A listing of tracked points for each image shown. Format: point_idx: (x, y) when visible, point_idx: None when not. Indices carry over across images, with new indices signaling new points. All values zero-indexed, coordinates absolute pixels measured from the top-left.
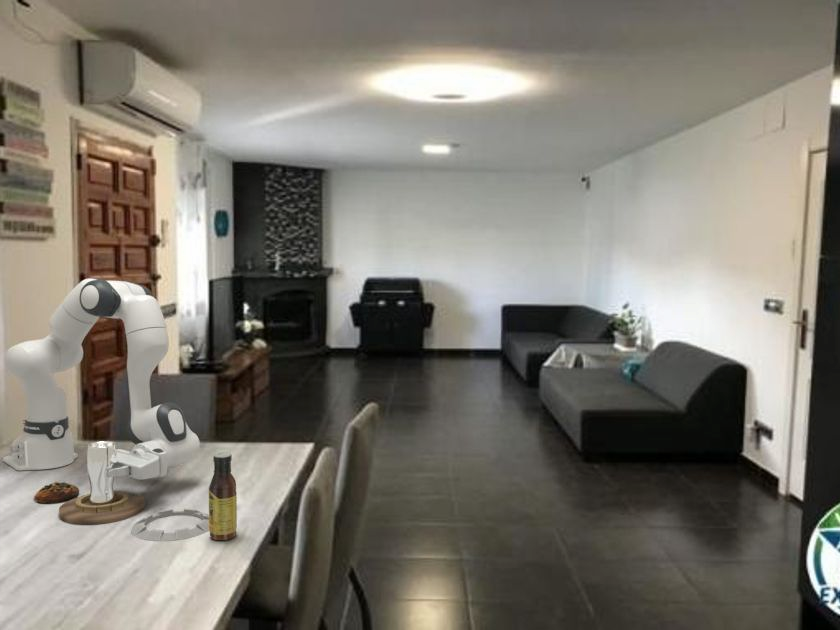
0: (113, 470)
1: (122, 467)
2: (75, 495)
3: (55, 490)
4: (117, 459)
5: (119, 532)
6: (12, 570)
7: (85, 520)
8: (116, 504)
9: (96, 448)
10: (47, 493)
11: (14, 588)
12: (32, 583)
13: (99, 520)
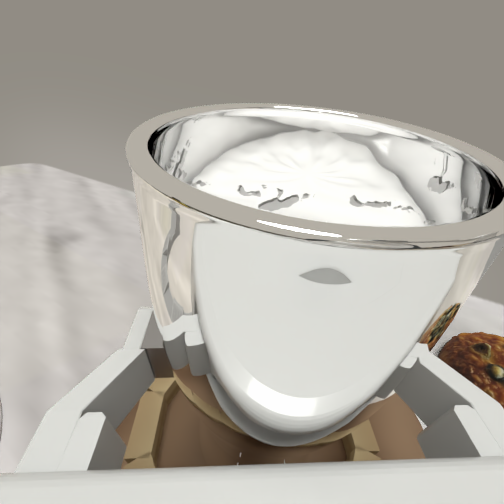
0: (131, 331)
1: (78, 404)
2: None
3: (487, 361)
4: (304, 499)
5: (29, 344)
6: (132, 195)
7: None
8: (136, 419)
9: (222, 113)
10: (473, 341)
11: (86, 182)
12: (71, 190)
13: None
